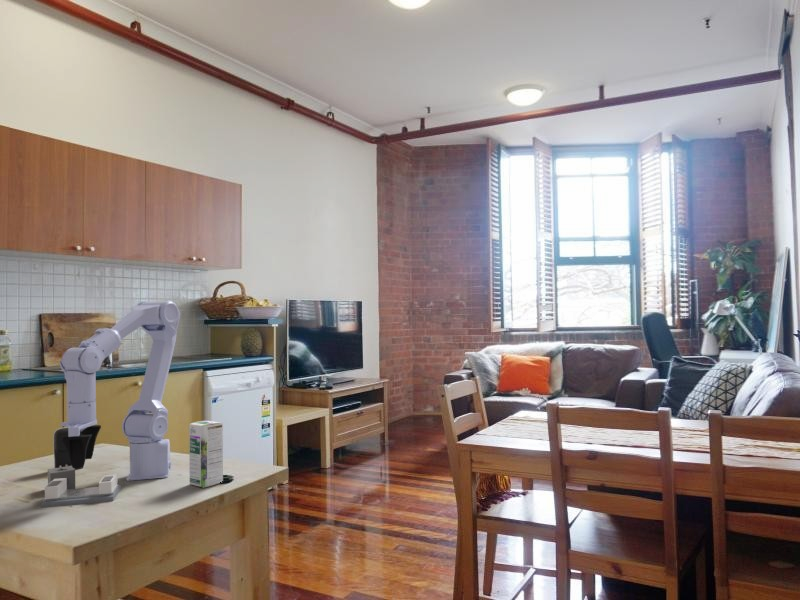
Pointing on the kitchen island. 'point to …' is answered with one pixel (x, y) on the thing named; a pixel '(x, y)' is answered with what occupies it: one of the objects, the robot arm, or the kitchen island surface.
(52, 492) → the mounted modules
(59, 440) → the battery charger
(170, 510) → the kitchen island surface
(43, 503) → the board
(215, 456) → the syrup box
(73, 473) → the dice cube
